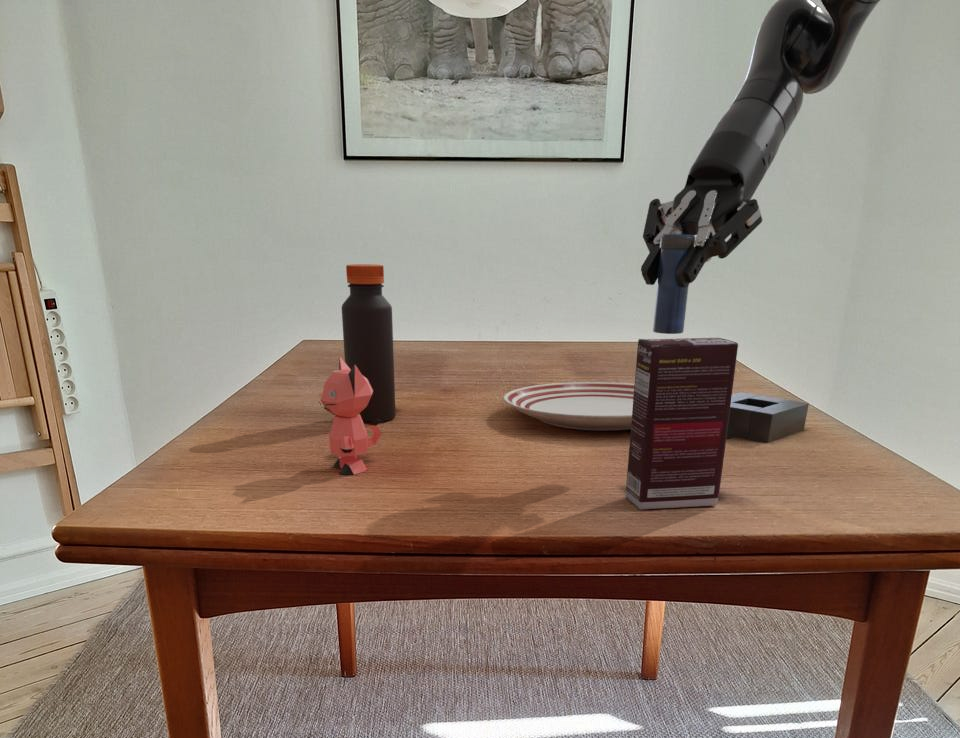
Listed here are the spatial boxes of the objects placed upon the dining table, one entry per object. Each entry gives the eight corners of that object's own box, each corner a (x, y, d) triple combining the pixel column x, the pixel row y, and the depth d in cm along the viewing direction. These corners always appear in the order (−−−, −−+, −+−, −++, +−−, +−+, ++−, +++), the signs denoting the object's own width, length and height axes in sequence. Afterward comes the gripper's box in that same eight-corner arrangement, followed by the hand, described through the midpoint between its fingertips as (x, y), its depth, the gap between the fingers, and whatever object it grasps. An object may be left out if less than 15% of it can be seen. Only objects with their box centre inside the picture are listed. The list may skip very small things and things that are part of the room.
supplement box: (699, 493, 89) (720, 336, 82) (718, 507, 85) (742, 343, 78) (621, 496, 88) (636, 337, 81) (637, 511, 84) (653, 344, 77)
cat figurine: (316, 463, 98) (307, 356, 93) (372, 457, 101) (367, 353, 95) (332, 479, 93) (324, 366, 87) (391, 473, 95) (387, 363, 90)
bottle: (353, 424, 116) (344, 266, 107) (343, 414, 122) (334, 263, 113) (400, 421, 118) (395, 266, 109) (389, 411, 124) (384, 263, 115)
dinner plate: (464, 414, 123) (464, 391, 121) (591, 392, 139) (592, 371, 137) (606, 452, 104) (608, 425, 103) (733, 421, 120) (736, 397, 119)
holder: (802, 437, 112) (809, 403, 110) (766, 450, 106) (772, 414, 104) (735, 424, 119) (740, 392, 116) (697, 436, 112) (701, 402, 110)
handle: (690, 332, 95) (702, 234, 91) (673, 335, 93) (683, 235, 88) (663, 329, 98) (673, 233, 93) (645, 331, 95) (654, 234, 91)
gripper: (671, 131, 95) (598, 252, 93) (789, 124, 86) (711, 257, 84) (690, 185, 101) (622, 300, 99) (802, 184, 92) (730, 310, 90)
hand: (663, 280), depth 92 cm, fingers closed on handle, 3 cm apart
